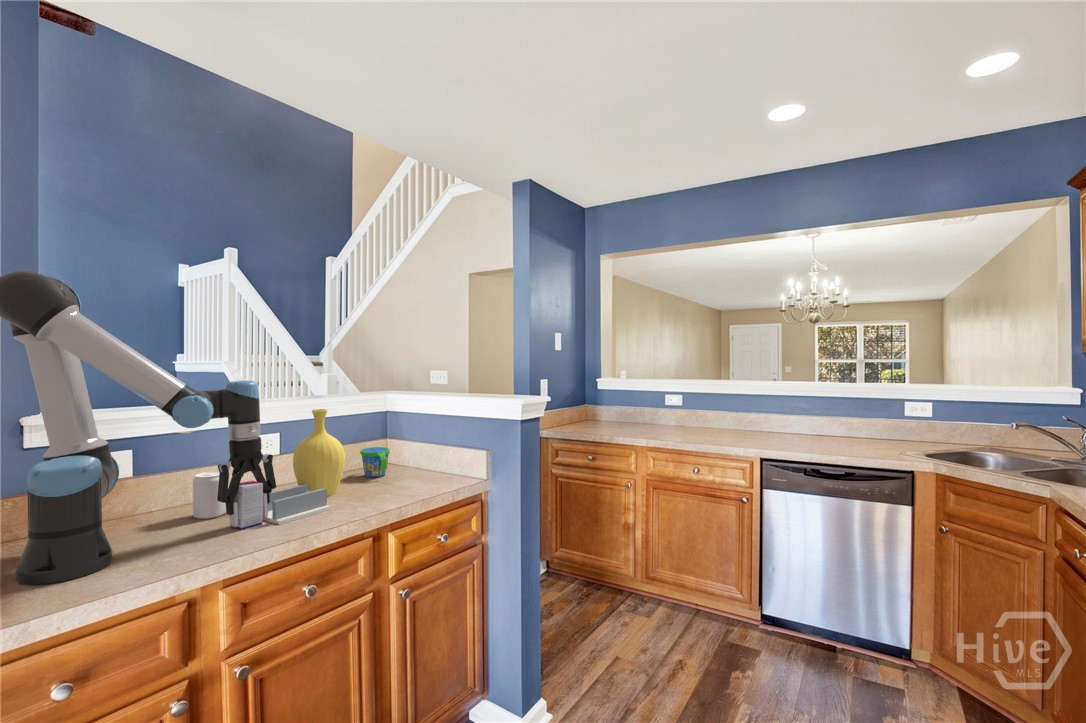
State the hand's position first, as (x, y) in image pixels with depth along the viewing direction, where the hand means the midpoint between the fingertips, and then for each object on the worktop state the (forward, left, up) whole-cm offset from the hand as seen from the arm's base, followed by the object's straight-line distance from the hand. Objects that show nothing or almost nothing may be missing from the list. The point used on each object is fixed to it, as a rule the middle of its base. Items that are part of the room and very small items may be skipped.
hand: (249, 520), depth 139 cm
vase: (+29, +11, -1) cm, 31 cm away
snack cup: (+56, +15, -1) cm, 58 cm away
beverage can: (-2, +17, -1) cm, 17 cm away
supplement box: (-1, 0, -1) cm, 1 cm away
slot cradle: (+12, 0, -1) cm, 12 cm away
